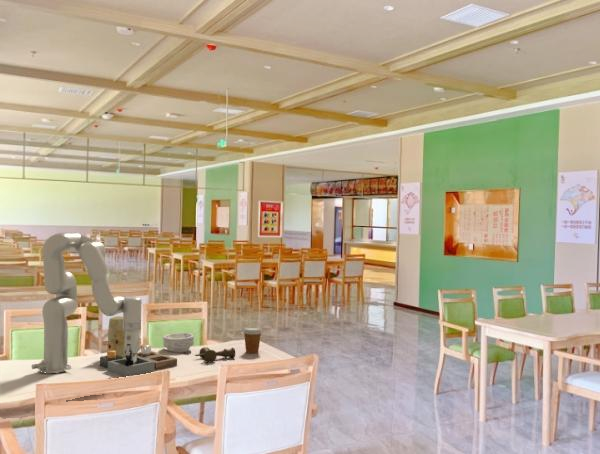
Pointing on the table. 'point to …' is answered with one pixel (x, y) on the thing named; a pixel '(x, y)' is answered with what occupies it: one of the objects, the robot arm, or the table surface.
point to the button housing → (105, 360)
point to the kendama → (215, 354)
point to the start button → (111, 354)
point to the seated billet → (145, 350)
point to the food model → (116, 336)
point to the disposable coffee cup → (252, 339)
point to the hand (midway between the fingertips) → (131, 367)
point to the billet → (134, 359)
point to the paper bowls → (178, 342)
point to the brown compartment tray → (160, 360)
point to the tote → (131, 367)
